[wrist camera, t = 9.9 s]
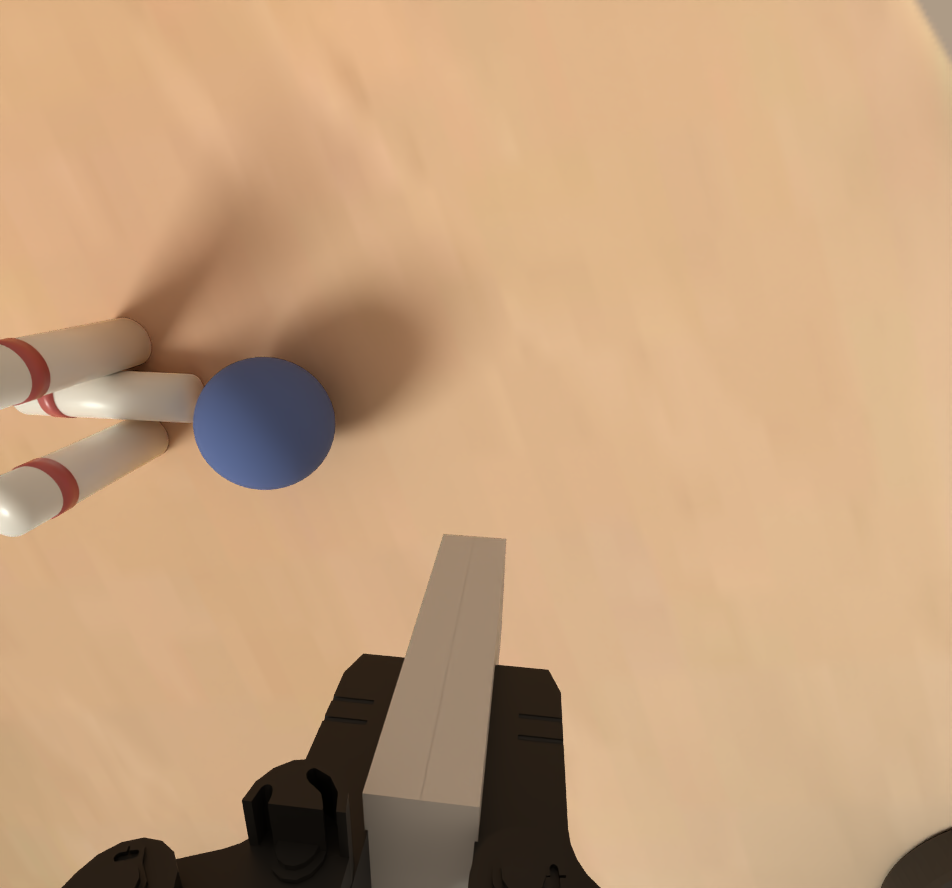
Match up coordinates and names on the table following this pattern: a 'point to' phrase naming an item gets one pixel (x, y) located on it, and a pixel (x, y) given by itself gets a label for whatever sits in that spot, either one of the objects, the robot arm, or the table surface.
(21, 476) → the pin
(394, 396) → the table surface
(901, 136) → the table surface
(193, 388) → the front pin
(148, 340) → the pin
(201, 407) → the ball
